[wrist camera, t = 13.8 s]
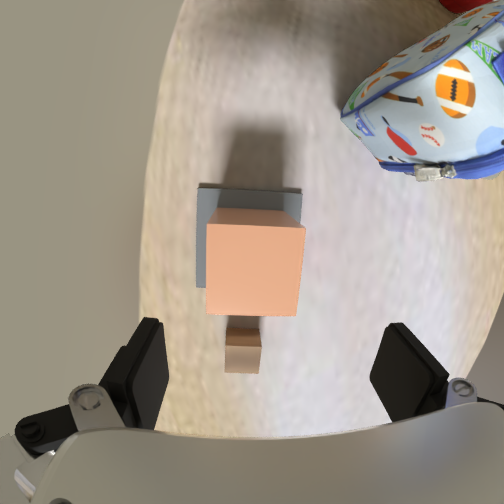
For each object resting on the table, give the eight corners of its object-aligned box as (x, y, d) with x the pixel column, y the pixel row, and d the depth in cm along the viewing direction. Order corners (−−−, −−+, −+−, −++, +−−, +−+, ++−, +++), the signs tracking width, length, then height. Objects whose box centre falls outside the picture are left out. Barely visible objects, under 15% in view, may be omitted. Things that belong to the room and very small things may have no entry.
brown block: (226, 327, 34) (225, 345, 30) (259, 328, 34) (261, 346, 30) (225, 353, 35) (224, 372, 31) (256, 354, 35) (258, 373, 31)
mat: (198, 187, 29) (197, 188, 28) (301, 193, 30) (302, 194, 29) (196, 285, 32) (196, 287, 31) (291, 288, 33) (292, 290, 32)
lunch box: (370, 194, 30) (530, 236, 9) (310, 126, 28) (444, 52, 7) (469, 82, 26) (577, 62, 5) (427, 27, 24) (525, -23, 2)
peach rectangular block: (216, 207, 29) (206, 223, 19) (283, 210, 29) (305, 228, 20) (215, 271, 31) (206, 313, 21) (278, 273, 31) (295, 316, 22)
